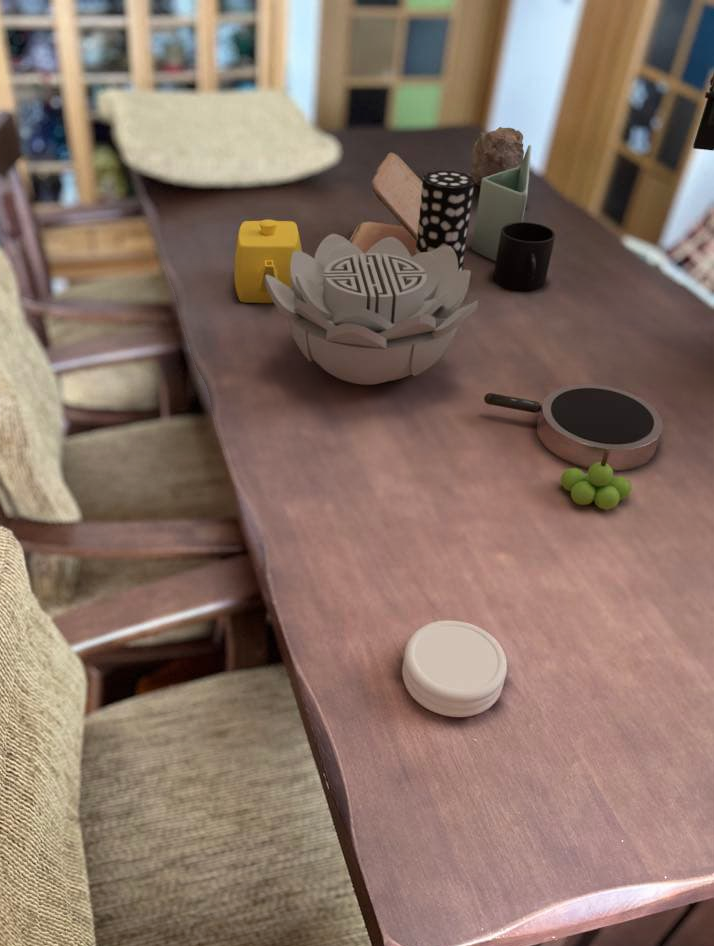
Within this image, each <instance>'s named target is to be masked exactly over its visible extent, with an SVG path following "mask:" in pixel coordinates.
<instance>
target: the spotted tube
mask: <svg viewBox="0 0 714 946" xmlns="http://www.w3.org/2000/svg"><path fill="white" fill-rule="evenodd" d="M422 183H423V184H422V194H421V204H420V214H419V224H418V233H417V243H416V253H415V255H416V254H418V253H422V252H431V251H432V250H434V249H436V248H439V247H442V246H451V247H452V248H453V249H454V251H455V253H456V255H457V260H458V272H460V271H463V266H464V258H465V253H466V252H465V251H466V246H467V245H466V244H467V238H468V230H469V224H470V215H471V211H472V209H471V208H472V202H473V194H474V188H475V180H474V178H473V177H472V175H471V174H468V173H465V172H461V171H457V170H445V169H444V170H434V171H429V172H427V173H425V174H424V175H423V177H422Z"/></svg>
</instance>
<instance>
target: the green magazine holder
mask: <svg viewBox="0 0 714 946" xmlns="http://www.w3.org/2000/svg"><path fill="white" fill-rule="evenodd" d="M531 155H532V145H531V144H529V145H528V146H527V148H526V150H525V152H524V156H523V161H522V163H521V164H520V165H519V166H518V167H517V168H513V169H510V170H506V171H503V172H500V173H497V174H494V175H491V176H488V177H485V178H483V179H482V182H481V186H480V190H479V195H478V202H477V210H476V216H475V223H474V230H473V236H472V241H471V242H472V243H471V250H472V251H474V252H475V253H477V254H479V255H481V256H483V257H485V258H486V259H489V260H491V261H494V262H495V263H496V258H497V252H498V246H499V240H500V234H501V229H502V228H503V227H504V226H505V225H507V224H510V223H515V222H524V218H525V217H524V216H525V211H526V206H527V201H528V193H529V187H528V182H529V174H530V169H531V168H530V167H531V157H532V156H531ZM529 183H530V182H529Z"/></svg>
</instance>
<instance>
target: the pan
mask: <svg viewBox="0 0 714 946" xmlns="http://www.w3.org/2000/svg"><path fill="white" fill-rule="evenodd" d="M483 401H484V403H485V404H486V405H490V406H494V407H501V408H506V409H510V410H516V411H523V412H527V413H533V414H537V413H539V417H538V421H537V425H536V426H537V427H536V431H537V432H536V433H537V435H538V438H539V440H540V442H541V443H542V444H543V446H544V447H545V448H546V449H547V450H548V451H550V452H551V453H552V454H553V455H555V456H557V457H559V458H560V459H562V460H564V461H566V462H568V463H571V464H574V465H576V466H579V467H583V468H587V469H589V468H590V467H591V466H592V465H593V464H595V463H597V462H601V461H602V458H603V455H604V452H605V450H609V452H610V453H609V456H608V460H607V464H608V465H609V466H610V467H611V468H612V470H613V472H616V471H627V470H631V469H635V468H638V467H641V466H643V465H644V464H646V463H648V462H649V461H650V460H651V459H652V457H653V456H654V454H655V452H656V451H657V447H658V444H659V441H660V438H661V436H662V433H663V430H664V422H663V421H664V420H663V418H662V417H661V415H660V413H659V412H658V411H657V409H656V408H655V407H653V406H652V405H651V404H650V403H649V402H648V401H646V400H644V399H643V398H641V397H640V396H637V395H636V394H634V393H631V392H628V391H625V390H623V389H620V388H616V387H613V386H607V385H602V384H592V383H591V384H587V383H586V384H585V383H583V384H572V385H567V386H563V387H559V388H557V389H555V390H553V391H552V392H550V393H549V394H548V395H546V397H545V398H544V399H543V401H542V404H541V403H540V402H539V401H536V400H531V399H525V398H520V397H515V396H510V395H504V394H498V393H494V392H488V393H486V394H485V395H484V397H483Z"/></svg>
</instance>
